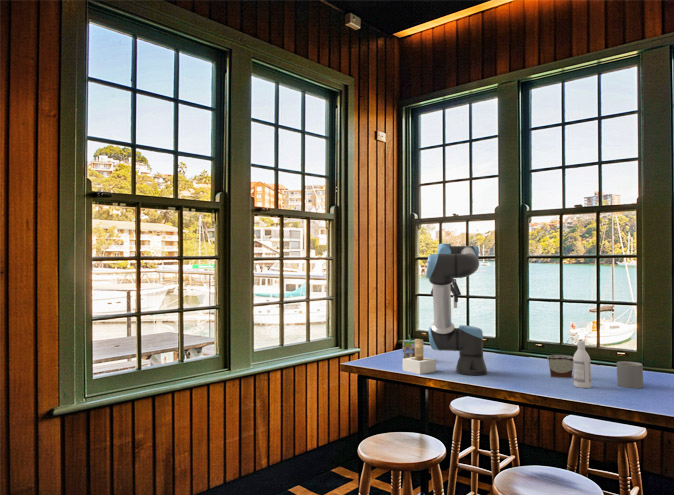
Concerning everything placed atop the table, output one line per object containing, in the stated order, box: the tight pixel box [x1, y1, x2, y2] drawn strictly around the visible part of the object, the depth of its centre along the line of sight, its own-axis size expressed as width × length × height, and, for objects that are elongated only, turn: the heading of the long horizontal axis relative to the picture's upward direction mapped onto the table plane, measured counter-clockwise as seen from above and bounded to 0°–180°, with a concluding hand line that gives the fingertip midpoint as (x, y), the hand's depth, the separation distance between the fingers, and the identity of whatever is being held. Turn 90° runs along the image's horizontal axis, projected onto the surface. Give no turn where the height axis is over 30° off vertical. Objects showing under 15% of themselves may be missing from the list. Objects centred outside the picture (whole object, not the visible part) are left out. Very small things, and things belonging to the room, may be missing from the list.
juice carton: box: [402, 334, 415, 360], centre depth 279 cm, size 9×9×15 cm
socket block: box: [402, 356, 437, 375], centre depth 249 cm, size 12×12×6 cm
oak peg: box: [414, 338, 424, 361], centre depth 250 cm, size 4×4×16 cm
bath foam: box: [572, 340, 592, 389], centre depth 215 cm, size 7×7×20 cm
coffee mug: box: [616, 360, 644, 390], centre depth 217 cm, size 13×10×10 cm
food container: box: [547, 354, 574, 379], centre depth 236 cm, size 12×6×10 cm, turn 74°
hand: (445, 307), depth 277 cm, fingers open, 13 cm apart
